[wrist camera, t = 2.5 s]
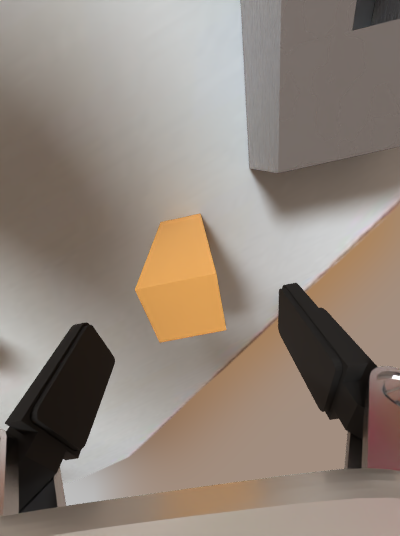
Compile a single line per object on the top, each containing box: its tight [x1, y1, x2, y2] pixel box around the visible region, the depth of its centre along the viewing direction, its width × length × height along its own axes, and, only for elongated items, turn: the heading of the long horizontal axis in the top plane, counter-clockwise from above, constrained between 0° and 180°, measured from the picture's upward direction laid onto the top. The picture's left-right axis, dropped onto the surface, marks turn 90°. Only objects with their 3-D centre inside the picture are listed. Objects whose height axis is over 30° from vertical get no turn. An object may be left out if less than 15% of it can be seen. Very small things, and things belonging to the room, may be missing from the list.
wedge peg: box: [135, 214, 226, 342], centre depth 15 cm, size 4×4×11 cm
